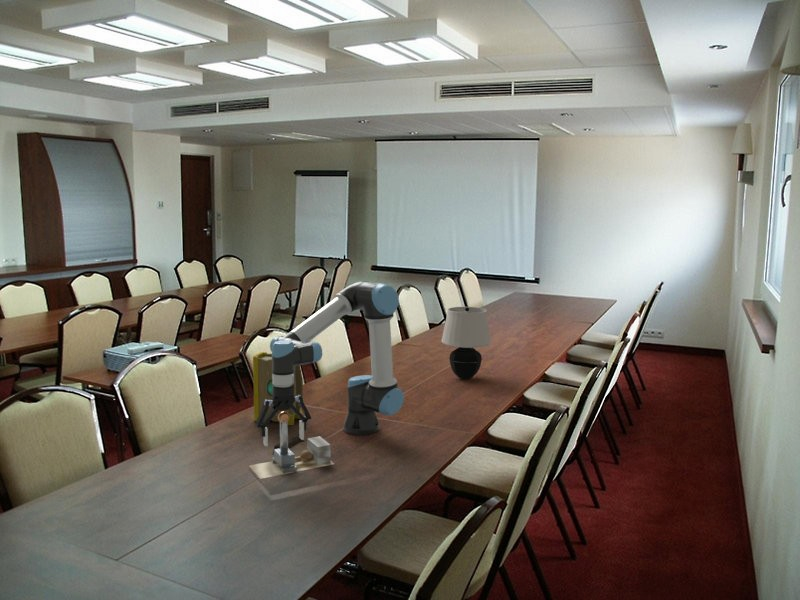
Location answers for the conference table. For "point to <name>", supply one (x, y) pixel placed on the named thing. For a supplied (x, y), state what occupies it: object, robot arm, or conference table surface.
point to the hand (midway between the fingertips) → (283, 441)
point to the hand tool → (290, 442)
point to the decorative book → (265, 386)
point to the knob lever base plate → (298, 460)
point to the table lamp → (466, 339)
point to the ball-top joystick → (284, 446)
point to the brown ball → (306, 456)
